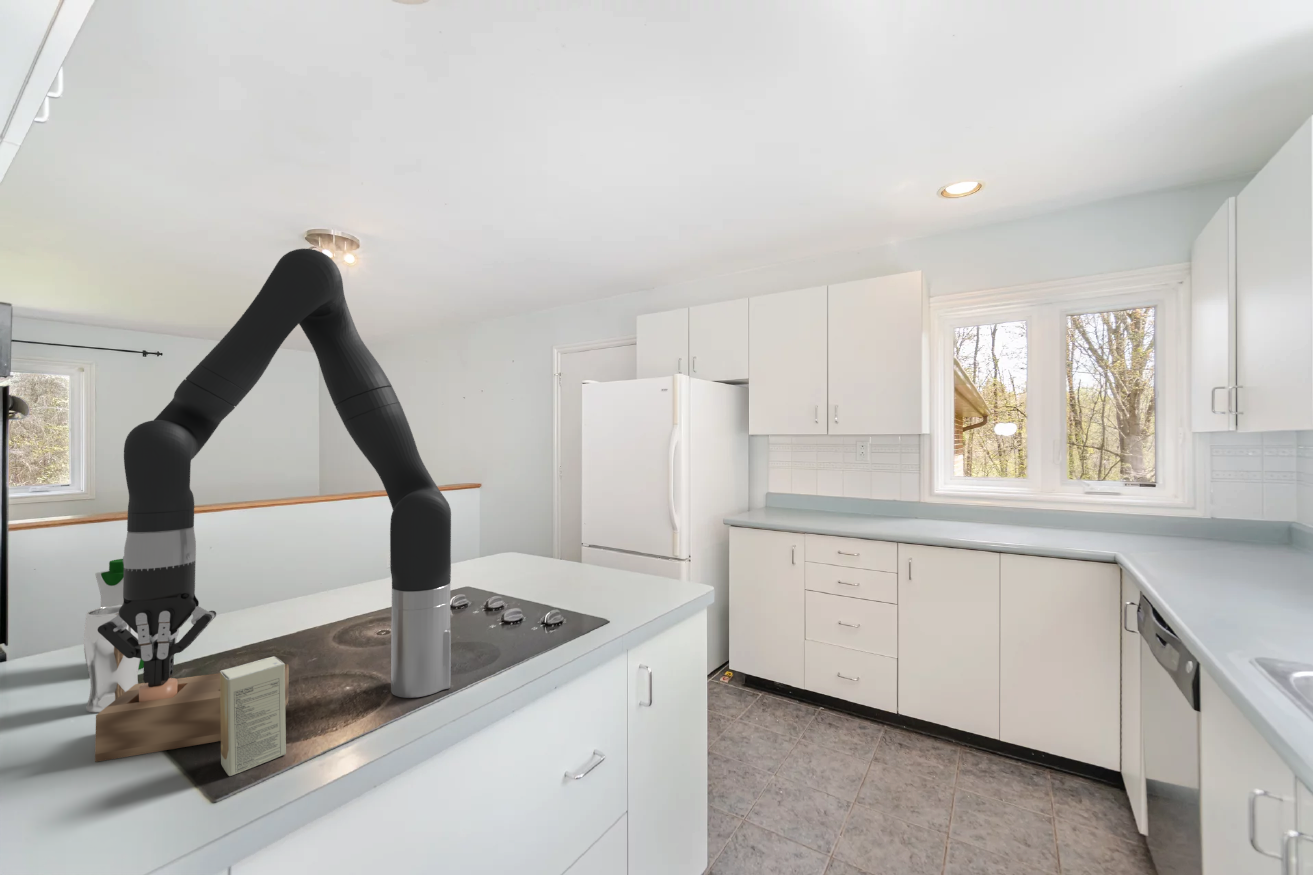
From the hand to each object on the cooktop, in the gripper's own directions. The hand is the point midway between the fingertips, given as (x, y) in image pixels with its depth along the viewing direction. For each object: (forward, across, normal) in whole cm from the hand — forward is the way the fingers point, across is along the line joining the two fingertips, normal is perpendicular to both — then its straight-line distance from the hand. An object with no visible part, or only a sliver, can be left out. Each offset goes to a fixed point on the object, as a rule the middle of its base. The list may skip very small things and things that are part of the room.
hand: (158, 683), depth 76 cm
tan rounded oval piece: (+5, 0, 0) cm, 5 cm away
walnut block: (+7, -5, 0) cm, 9 cm away
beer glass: (+8, +11, -15) cm, 20 cm away
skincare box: (+7, -14, +12) cm, 20 cm away
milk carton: (+8, +16, -34) cm, 38 cm away
